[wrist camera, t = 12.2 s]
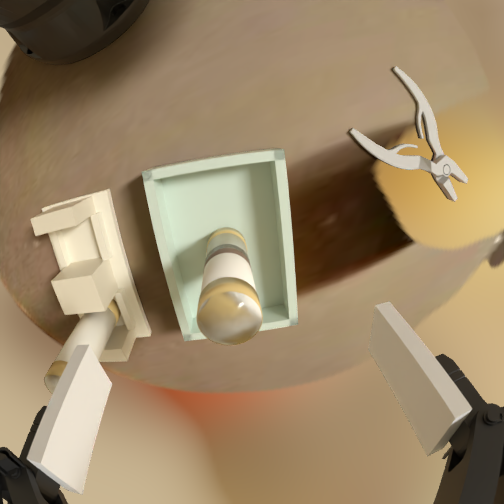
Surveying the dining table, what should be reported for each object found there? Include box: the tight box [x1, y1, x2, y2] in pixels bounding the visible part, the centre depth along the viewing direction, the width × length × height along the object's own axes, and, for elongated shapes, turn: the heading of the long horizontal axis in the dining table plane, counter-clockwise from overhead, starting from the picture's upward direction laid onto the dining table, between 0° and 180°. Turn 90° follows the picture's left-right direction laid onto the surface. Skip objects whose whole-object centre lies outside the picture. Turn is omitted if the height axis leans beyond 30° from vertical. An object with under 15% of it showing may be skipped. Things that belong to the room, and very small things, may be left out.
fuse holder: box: [31, 189, 151, 362], centre depth 25 cm, size 16×8×5 cm, turn 7°
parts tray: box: [142, 148, 298, 341], centre depth 25 cm, size 16×11×4 cm
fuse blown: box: [196, 227, 263, 345], centre depth 21 cm, size 4×4×12 cm
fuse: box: [44, 299, 121, 394], centre depth 22 cm, size 4×4×12 cm
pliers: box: [349, 67, 468, 202], centre depth 25 cm, size 10×2×15 cm
